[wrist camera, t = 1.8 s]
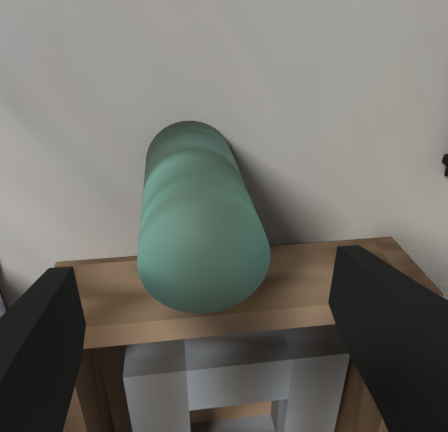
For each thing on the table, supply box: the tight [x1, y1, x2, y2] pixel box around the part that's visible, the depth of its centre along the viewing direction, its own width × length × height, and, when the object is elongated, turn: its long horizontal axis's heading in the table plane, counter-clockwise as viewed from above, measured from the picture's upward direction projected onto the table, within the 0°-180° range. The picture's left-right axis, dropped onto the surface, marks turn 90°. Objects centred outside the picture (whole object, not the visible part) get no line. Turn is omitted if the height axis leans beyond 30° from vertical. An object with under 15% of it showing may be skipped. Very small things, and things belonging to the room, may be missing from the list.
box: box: [54, 237, 443, 432], centre depth 25 cm, size 18×22×5 cm
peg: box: [137, 121, 270, 314], centre depth 16 cm, size 4×4×8 cm
